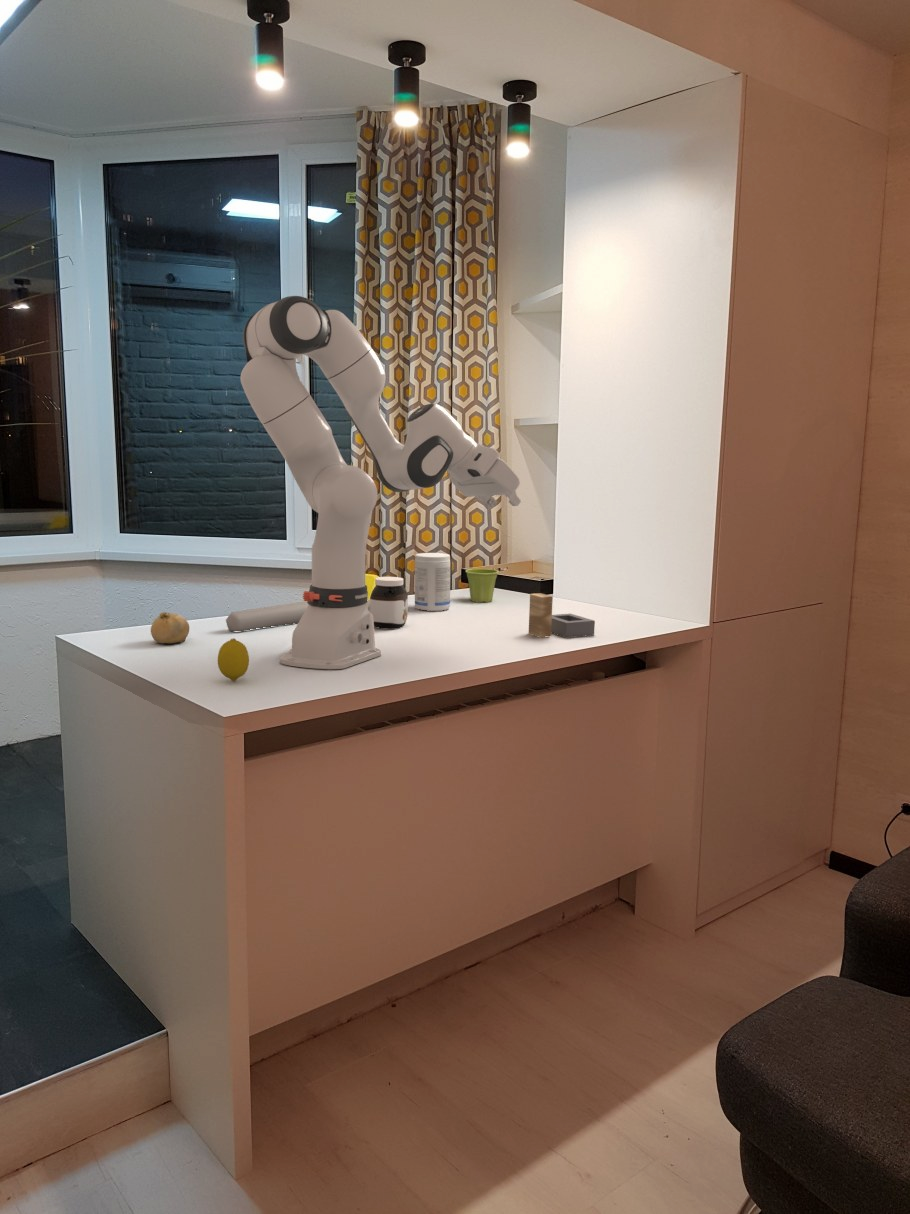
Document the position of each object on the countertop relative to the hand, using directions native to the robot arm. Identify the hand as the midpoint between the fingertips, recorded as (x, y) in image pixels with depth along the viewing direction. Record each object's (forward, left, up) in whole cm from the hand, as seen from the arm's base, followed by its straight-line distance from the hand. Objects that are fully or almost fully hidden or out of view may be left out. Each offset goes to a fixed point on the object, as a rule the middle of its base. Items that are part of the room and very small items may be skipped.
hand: (505, 504), depth 208 cm
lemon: (-60, +36, -31) cm, 76 cm away
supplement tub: (+27, +26, -31) cm, 48 cm away
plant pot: (+45, +17, -31) cm, 57 cm away
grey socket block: (+10, -14, -30) cm, 35 cm away
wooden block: (+4, -8, -30) cm, 32 cm away
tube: (-10, +53, -31) cm, 62 cm away
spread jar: (+1, +30, -31) cm, 43 cm away
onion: (-36, +65, -31) cm, 80 cm away
